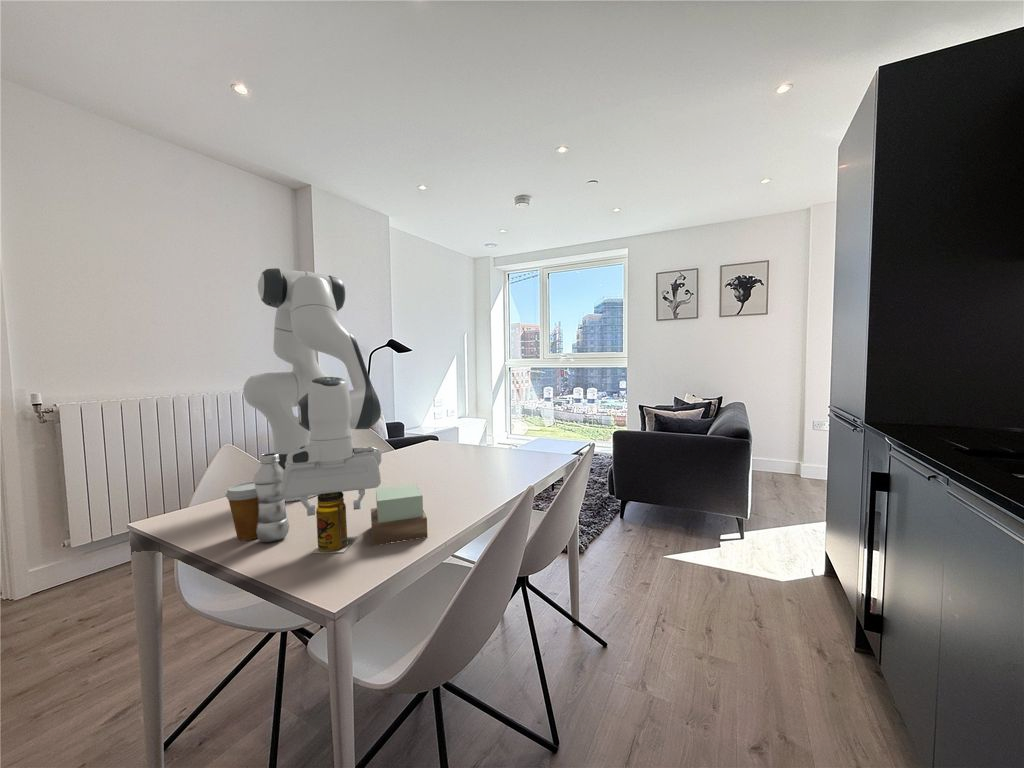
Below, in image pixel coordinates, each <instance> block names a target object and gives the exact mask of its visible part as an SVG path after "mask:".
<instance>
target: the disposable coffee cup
mask: <svg viewBox="0 0 1024 768" xmlns="http://www.w3.org/2000/svg"><path fill="white" fill-rule="evenodd" d="M225 497H226V499H227V500H228V503H229V508H230V512H231V515H232V516H231V517H232V520H233V524H234V526H233V527H234V530H235V534H236V537H237V540H239V541H250V540H254V539H255V540H256V539H258V538H257V534H256V527H257V522H258V501H257V494H256V489H255V484H254V480H253V481H248V482H243V483H238V484H235V485H233V486H230V487H228V488H227V491H226V494H225Z"/></svg>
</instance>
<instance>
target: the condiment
mask: <svg viewBox="0 0 1024 768" xmlns="http://www.w3.org/2000/svg"><path fill="white" fill-rule="evenodd" d="M315 515H316V532H317V535H316V537H317V546H316V547H315V548H314V549H313V550H312V551H311V552H310V554H334V553H335V554H336V553H344V552H345V551H347V550H348V548H349V547H350V546H351V545H352V544H353V542H355V541H356V539H357V538H358V537H359V535H354V536H348V527H347V526H348V525H347V504H346V503H345V498H344V493H343V492H336V493H328V494H319V495H317V507H316V508H315Z"/></svg>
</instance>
